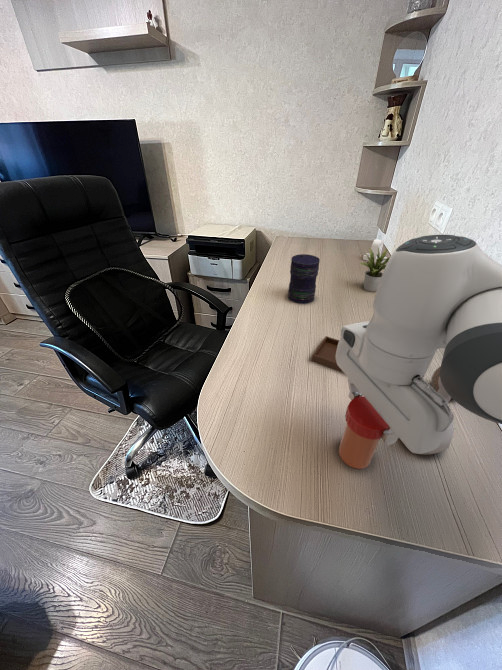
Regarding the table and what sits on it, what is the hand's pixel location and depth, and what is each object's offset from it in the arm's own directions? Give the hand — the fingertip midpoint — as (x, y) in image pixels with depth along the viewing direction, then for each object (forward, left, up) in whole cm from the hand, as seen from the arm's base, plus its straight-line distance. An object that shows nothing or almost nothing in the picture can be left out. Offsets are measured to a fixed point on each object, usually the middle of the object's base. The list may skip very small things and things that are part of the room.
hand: (369, 418), depth 47 cm
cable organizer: (+21, -108, -10) cm, 111 cm away
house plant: (+14, -73, -10) cm, 75 cm away
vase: (-13, -26, -10) cm, 31 cm away
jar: (0, +1, -10) cm, 10 cm away
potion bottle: (-10, -10, -10) cm, 17 cm away
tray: (+12, -25, -10) cm, 30 cm away
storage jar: (+35, -52, -10) cm, 64 cm away
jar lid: (0, +1, +2) cm, 2 cm away
